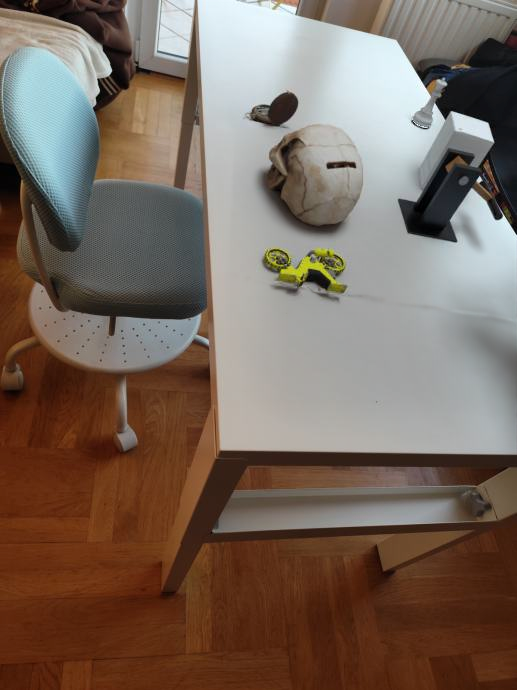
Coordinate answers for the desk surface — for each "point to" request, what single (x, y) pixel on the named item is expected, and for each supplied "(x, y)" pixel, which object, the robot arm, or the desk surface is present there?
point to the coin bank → (317, 173)
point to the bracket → (440, 198)
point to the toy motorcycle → (309, 268)
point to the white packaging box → (457, 143)
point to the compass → (276, 110)
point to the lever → (481, 191)
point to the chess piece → (429, 106)
